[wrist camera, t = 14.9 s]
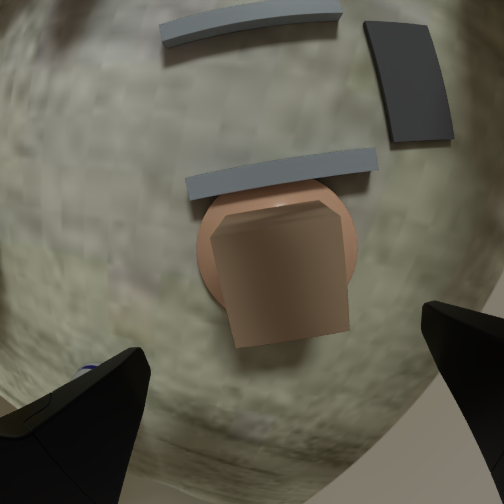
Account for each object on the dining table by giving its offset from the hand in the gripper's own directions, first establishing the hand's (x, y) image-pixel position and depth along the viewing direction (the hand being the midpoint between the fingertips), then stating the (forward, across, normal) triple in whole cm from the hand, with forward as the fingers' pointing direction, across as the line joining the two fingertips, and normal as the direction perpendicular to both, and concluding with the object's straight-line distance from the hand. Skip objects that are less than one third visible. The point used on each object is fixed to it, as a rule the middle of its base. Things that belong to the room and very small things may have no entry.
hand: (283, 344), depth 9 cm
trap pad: (+9, -10, -9) cm, 16 cm away
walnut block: (+9, 0, 0) cm, 9 cm away
